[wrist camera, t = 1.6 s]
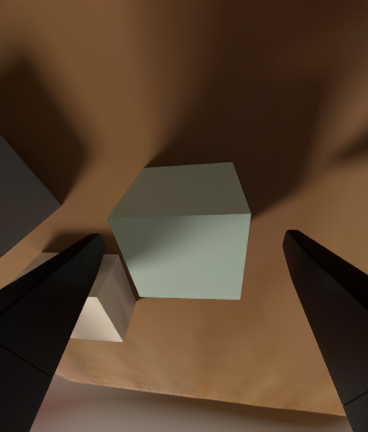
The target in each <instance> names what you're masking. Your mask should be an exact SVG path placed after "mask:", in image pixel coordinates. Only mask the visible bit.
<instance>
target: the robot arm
mask: <svg viewBox="0 0 368 432" xmlns="http://www.w3.org/2000/svg"><path fill="white" fill-rule="evenodd" d="M105 249H106V246H105V243H104V241H103V239H102V237H101V235H100V234H98V233H93V234H90V235H88V236H86V237H85V238H83V239H81V240H80V241H78V242H77V243H75V244H73V245H72V246H70V247H68V248H67V249H65V250H64V251H62V252H60V253H59V254H57V255H55V256H54V257H52V258H51V259H49V260H47V261H46V262H44V263H43V264H41V265H39V266H38V267H36V268H34V269H33V270H31V271H30V272H28V273H26V274H25V275H23V276H21V277H20V278H18V279H17V280H15V281H13V282H12V283H10V284H8V285H7V286H5V287H3V288H2V289H0V432H29V431H30V429H31V427H32V424H33V422H34V420H35V417H36V415H37V413H38V411H39V408H40V406H41V404H42V401H43V399H44V397H45V395H46V392H47V390H48V388H49V385H50V383H51V381H52V378H53V376H54V374H55V371H56V369H57V367H58V364H59V362H60V360H61V358H62V355H63V353H64V351H65V348H66V346H67V344H68V341H69V339H70V337H71V335H72V332H73V330H74V328H75V325H76V323H77V321H78V319H79V316H80V314H81V312H82V309H83V307H84V305H85V302H86V300H87V298H88V296H89V293H90V291H91V289H92V286H93V284H94V282H95V279H96V277H97V274H98V271H99V268H100V265H101V262H102V259H103V256H104V252H105ZM283 250H284V254H285V258H286V262H287V265H288V269H289V273H290V276H291V279H292V282H293V284H294V287H295V289H296V292H297V294H298V297H299V299H300V302H301V304H302V307H303V309H304V312H305V314H306V317H307V319H308V321H309V324H310V326H311V329H312V331H313V334H314V336H315V339H316V341H317V344H318V346H319V349H320V351H321V354H322V356H323V358H324V361H325V363H326V366H327V368H328V371H329V373H330V376H331V378H332V381H333V383H334V386H335V388H336V390H337V393H338V395H339V398H340V400H341V403H342V405H344V406H343V408H344V411H345V413H346V416H347V418H348V420H349V423H350V425H351V428H352V430H353V432H368V275H367V274H366V273H364V272H362V271H361V270H359V269H358V268H356V267H355V266H353V265H351V264H350V263H348V262H347V261H345V260H344V259H342V258H341V257H339V256H337V255H336V254H334V253H333V252H331V251H330V250H328V249H327V248H325V247H323V246H322V245H320V244H319V243H317V242H316V241H314V240H313V239H311V238H309V237H308V236H306V235H305V234H303V233H302V232H300V231H298V230H287V231H286V233H285V237H284V241H283Z"/></svg>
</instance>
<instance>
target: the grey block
mask: <svg viewBox="0 0 368 432" xmlns="http://www.w3.org/2000/svg"><path fill="white" fill-rule="evenodd" d="M61 206H62V205H61V204H60V203H59V202H58V201H57V200H56V199H55V197H54V196H53V195H52V194H51V193H50V192H49V190H48V189H47V188H46V187H45V186H44V185H43V183H42V182H41V181H40V180H39V179H38V178H37V176H36V175H35V174H34V173H33V172H32V171H31V169H30V168H29V167H28V166H27V165H26V164H25V163H24V161H23V160H22V159H21V158H20V157H19V156H18V154H17V153H16V152H15V151H14V150H13V149H12V147H11V146H10V145H9V144H8V143H7V142H6V140H5V139H4V138H3V137H2V136H1V135H0V258H1V257H2V256H3V255H4V254H6V253H7V252H8V251H9V250H10V249H11V248H13V247H14V246H15V245H16V244H17V243H18V242H20V241H21V240H22V239H23V238H24V237H25V236H27V235H28V234H29V233H30V232H31V231H32V230H34V229H35V228H36V227H37V226H38V225H39V224H41V223H42V222H43V221H44V220H45V219H47V218H48V217H49V216H50V215H51V214H52V213H54V212H55V211H56V210H57V209H58V208H59V207H61Z"/></svg>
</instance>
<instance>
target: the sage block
mask: <svg viewBox="0 0 368 432" xmlns="http://www.w3.org/2000/svg"><path fill="white" fill-rule="evenodd" d="M250 218H251V212H250V210H249V207H248V204H247V201H246V198H245V195H244V193H243V190H242V187H241V184H240V181H239V179H238V176H237V173H236V170H235V167H234V164H233V162H226V163H211V164H196V165H181V166H166V167H151V168H143V169H142V171H141V172H140V174H139V175H138V176H137V178H136V179H135V180H134V182H133V183H132V185H131V186H130V187H129V189H128V190H127V191H126V193H125V194H124V196H123V197H122V198H121V200H120V201H119V202H118V204H117V205H116V207H115V208H114V209H113V211H112V212H111V213H110V215H109V216H108V217H107V219H108V222H109V224H110V226H111V229H112V231H113V234H114V236H115V238H116V241H117V243H118V246H119V248H120V250H121V253H122V255H123V258H124V260H125V262H126V265H127V267H128V270H129V272H130V274H131V277H132V279H133V282H134V284H135V286H136V289H137V291H138V294H139V296H140V297H165V298H199V299H233V300H240V296H241V288H242V280H243V273H244V265H245V257H246V249H247V241H248V233H249V226H250Z"/></svg>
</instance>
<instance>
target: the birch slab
mask: <svg viewBox="0 0 368 432" xmlns="http://www.w3.org/2000/svg"><path fill="white" fill-rule="evenodd" d="M57 254H59V253H45V252H41V253H40V254H39V255H38V256H37V257H36V258H35V259H34V260H33V261H32V262H31V263H30V264H29V265H28V266H27V267H26V268H25V269H24V271H23V272H22V273H21V274H20V275H19V276H18V277H17V278H16V279H15V280H17V279H18V278H20V277H21V276H23V275H25V274H26V273H28V272H30V271H31V270H33V269H34V268H36V267H38V266H39V265H41V264H43V263H44V262H46V261H47V260H49V259H51V258H52V257H54V256H55V255H57ZM15 280H14V281H15ZM135 303H136V300H135V297H134V295H133V292H132V290H131V287H130V284H129V282H128V279H127V276H126V274H125V271H124V268H123V266H122V263H121V260H120V258H119V255H113V254H104V256H103V259H102V262H101V265H100V268H99V271H98V274H97V277H96V279H95V282H94V284H93V286H92V289H91V291H90V293H89V296H88V298H87V300H86V302H85V305H84V307H83V309H82V312H81V314H80V316H79V319H78V321H77V323H76V325H75V328H74V330H73V332H72V335H71V337H70V338H79V339H91V340H104V341H116V342H123V341H124V338H125V335H126V332H127V328H128V325H129V322H130V319H131V316H132V312H133V309H134V306H135Z"/></svg>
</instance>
